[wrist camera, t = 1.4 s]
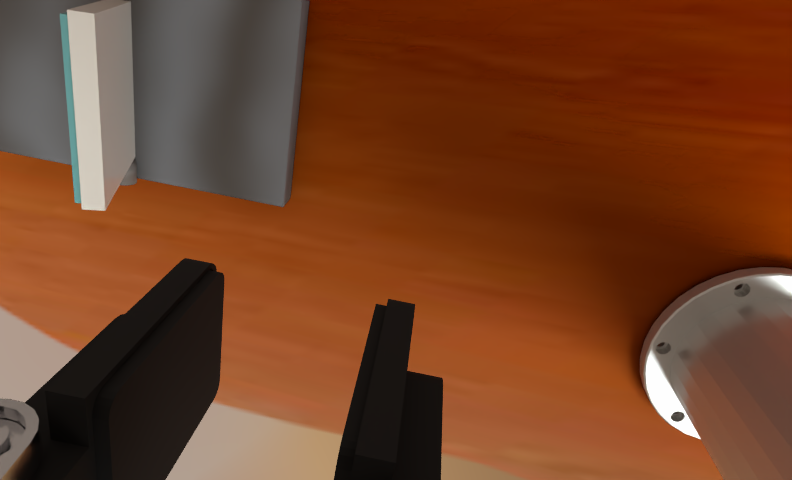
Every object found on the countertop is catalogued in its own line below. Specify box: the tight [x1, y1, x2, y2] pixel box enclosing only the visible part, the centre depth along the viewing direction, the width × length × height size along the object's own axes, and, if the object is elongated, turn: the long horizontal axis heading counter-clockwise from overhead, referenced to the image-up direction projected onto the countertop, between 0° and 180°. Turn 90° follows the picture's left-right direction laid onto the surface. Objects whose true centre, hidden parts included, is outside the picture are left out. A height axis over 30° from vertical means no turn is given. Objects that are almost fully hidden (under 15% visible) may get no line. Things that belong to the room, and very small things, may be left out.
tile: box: [60, 0, 135, 211], centre depth 25 cm, size 8×8×1 cm
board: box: [0, 0, 309, 207], centre depth 29 cm, size 18×11×3 cm, turn 80°
